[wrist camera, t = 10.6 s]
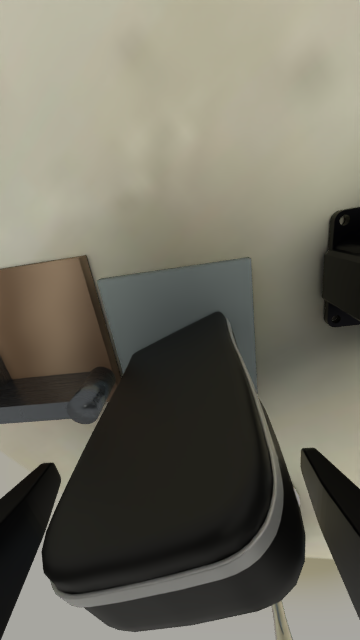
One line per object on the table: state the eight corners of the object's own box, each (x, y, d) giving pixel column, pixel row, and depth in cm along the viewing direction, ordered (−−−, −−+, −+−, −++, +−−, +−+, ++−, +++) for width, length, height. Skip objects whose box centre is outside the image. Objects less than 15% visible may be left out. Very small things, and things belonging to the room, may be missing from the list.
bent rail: (82, 266, 14) (51, 278, 11) (118, 387, 17) (101, 423, 14) (-56, 287, 15) (-119, 303, 12) (1, 398, 18) (-38, 432, 15)
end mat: (248, 257, 14) (250, 258, 13) (256, 408, 18) (258, 414, 17) (100, 278, 15) (96, 280, 14) (138, 417, 19) (136, 422, 18)
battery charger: (158, 394, 17) (98, 665, 7) (128, 353, 16) (-1, 600, 6) (250, 354, 16) (360, 630, 5) (223, 304, 15) (293, 527, 4)
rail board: (86, 255, 15) (78, 257, 14) (125, 391, 18) (121, 400, 17) (-73, 280, 16) (-90, 284, 15) (-7, 402, 19) (-18, 411, 19)
